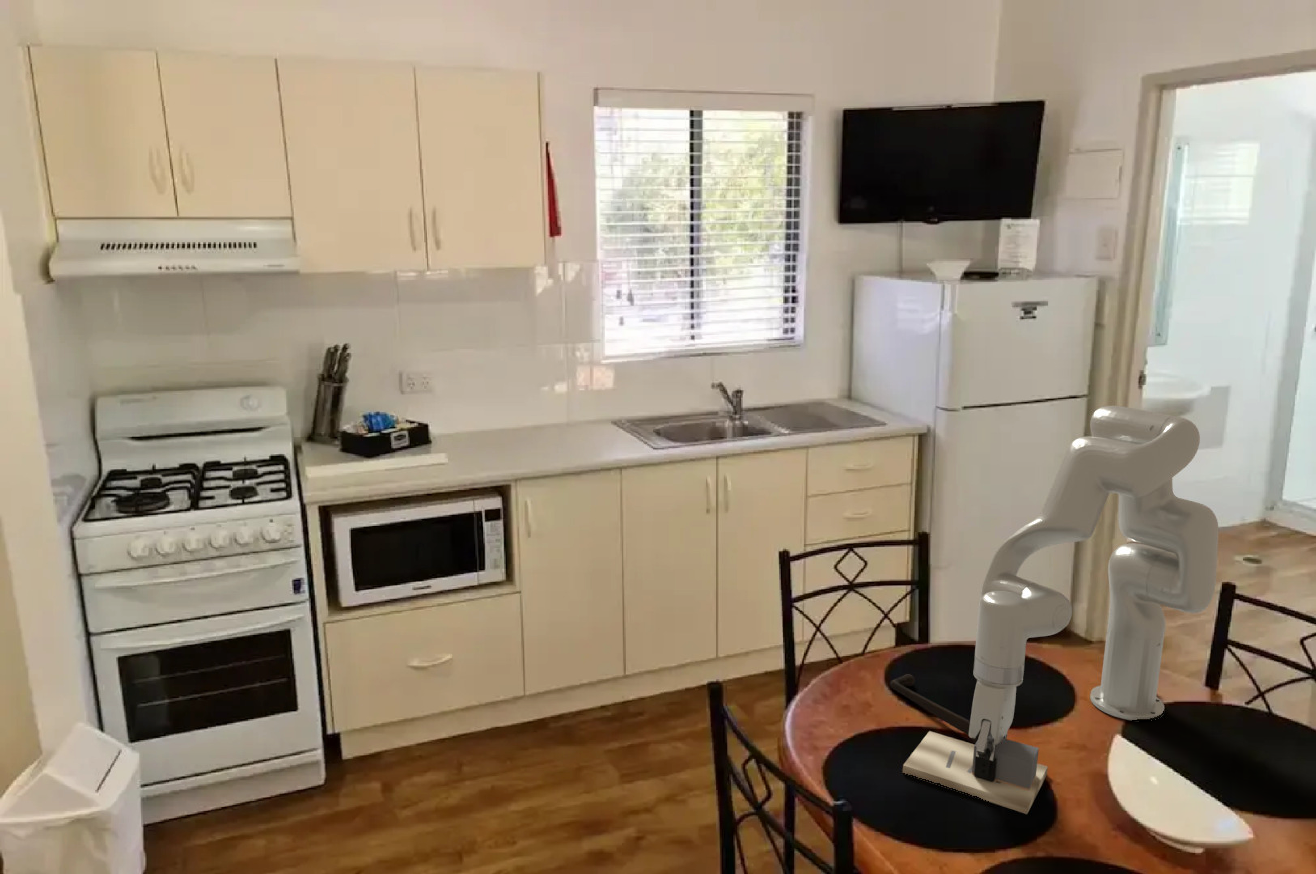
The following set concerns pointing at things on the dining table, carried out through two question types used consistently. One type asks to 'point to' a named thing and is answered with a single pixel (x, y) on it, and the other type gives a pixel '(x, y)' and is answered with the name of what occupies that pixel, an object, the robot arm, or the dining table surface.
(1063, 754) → the dining table surface
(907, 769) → the board
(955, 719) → the wrench
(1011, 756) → the block
